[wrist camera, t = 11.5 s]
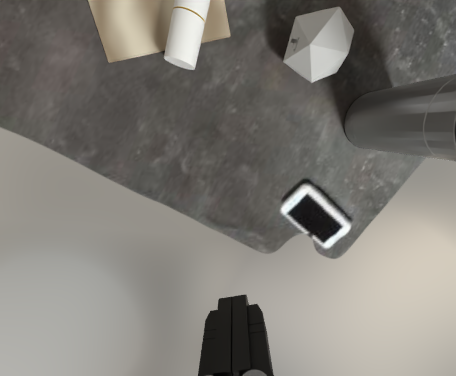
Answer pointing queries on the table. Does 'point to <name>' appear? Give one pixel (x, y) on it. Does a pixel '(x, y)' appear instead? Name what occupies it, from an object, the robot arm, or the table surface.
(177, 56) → the tube
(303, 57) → the die
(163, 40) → the birch board
